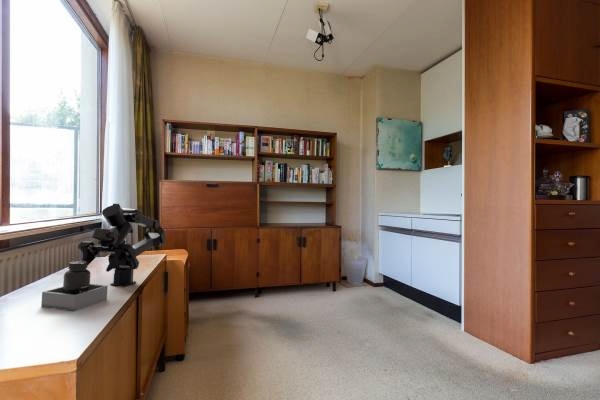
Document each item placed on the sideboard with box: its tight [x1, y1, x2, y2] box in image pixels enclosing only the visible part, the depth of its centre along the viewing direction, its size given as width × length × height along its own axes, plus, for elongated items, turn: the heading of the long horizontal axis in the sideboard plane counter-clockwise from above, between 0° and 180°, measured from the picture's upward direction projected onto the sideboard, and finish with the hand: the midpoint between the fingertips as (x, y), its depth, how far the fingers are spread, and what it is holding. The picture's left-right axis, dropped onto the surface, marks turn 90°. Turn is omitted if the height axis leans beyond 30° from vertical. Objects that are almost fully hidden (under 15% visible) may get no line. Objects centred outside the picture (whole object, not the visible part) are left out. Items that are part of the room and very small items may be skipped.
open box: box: [40, 283, 108, 312], centre depth 94 cm, size 12×12×4 cm
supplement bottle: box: [62, 260, 91, 295], centre depth 95 cm, size 7×7×12 cm
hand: (94, 270), depth 101 cm, fingers open, 9 cm apart
